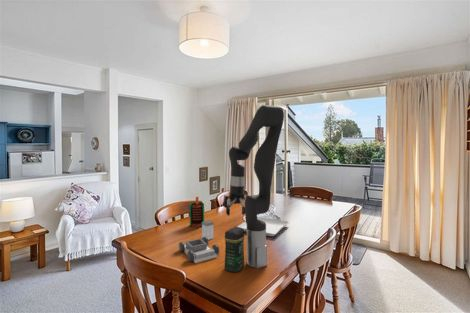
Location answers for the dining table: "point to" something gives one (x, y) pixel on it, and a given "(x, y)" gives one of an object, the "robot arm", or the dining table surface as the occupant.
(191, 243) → the car chassis
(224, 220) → the dining table surface
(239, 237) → the coffee jar
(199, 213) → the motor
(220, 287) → the dining table surface
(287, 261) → the dining table surface
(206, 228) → the grey-topped square pillar
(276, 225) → the square plate
